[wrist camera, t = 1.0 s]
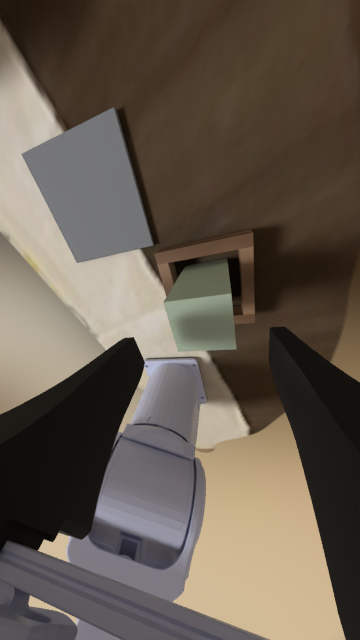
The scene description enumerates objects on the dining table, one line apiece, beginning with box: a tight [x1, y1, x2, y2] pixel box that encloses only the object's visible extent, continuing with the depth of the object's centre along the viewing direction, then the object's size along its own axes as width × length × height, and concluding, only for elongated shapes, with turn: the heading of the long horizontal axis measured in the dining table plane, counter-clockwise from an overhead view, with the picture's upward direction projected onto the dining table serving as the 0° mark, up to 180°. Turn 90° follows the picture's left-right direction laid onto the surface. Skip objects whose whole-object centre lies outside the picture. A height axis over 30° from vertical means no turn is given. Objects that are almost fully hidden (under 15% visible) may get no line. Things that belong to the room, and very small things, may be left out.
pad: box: [22, 107, 154, 263], centre depth 16 cm, size 9×9×1 cm
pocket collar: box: [154, 229, 255, 324], centre depth 17 cm, size 8×8×2 cm
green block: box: [164, 258, 236, 352], centre depth 14 cm, size 4×4×8 cm
